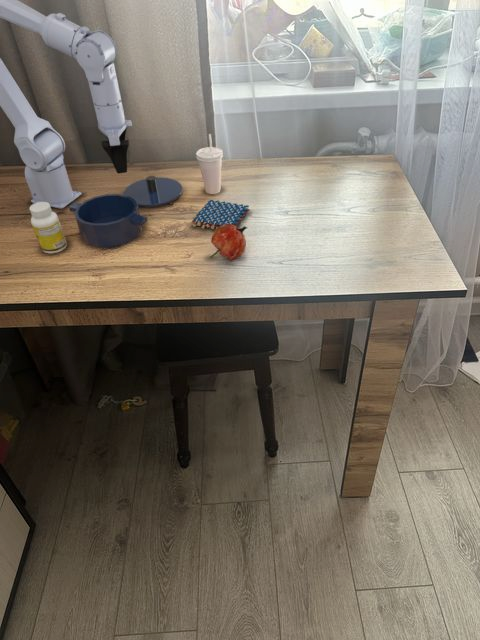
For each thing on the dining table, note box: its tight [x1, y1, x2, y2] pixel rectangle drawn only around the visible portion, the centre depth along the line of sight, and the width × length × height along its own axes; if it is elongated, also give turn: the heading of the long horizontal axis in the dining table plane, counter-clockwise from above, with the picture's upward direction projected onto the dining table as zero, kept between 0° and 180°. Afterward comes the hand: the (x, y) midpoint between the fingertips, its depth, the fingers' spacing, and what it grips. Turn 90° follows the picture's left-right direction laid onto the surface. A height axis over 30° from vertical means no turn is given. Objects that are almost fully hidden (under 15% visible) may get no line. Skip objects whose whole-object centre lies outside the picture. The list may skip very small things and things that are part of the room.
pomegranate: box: [209, 224, 248, 261], centre depth 103 cm, size 7×7×10 cm
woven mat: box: [191, 199, 250, 230], centre depth 115 cm, size 10×11×2 cm
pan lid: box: [123, 175, 184, 208], centre depth 124 cm, size 14×14×4 cm
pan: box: [68, 193, 148, 248], centre depth 112 cm, size 13×19×6 cm
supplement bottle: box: [29, 202, 68, 254], centre depth 106 cm, size 5×5×10 cm
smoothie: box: [195, 133, 224, 195], centre depth 121 cm, size 6×6×14 cm
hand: (121, 165), depth 114 cm, fingers open, 7 cm apart
